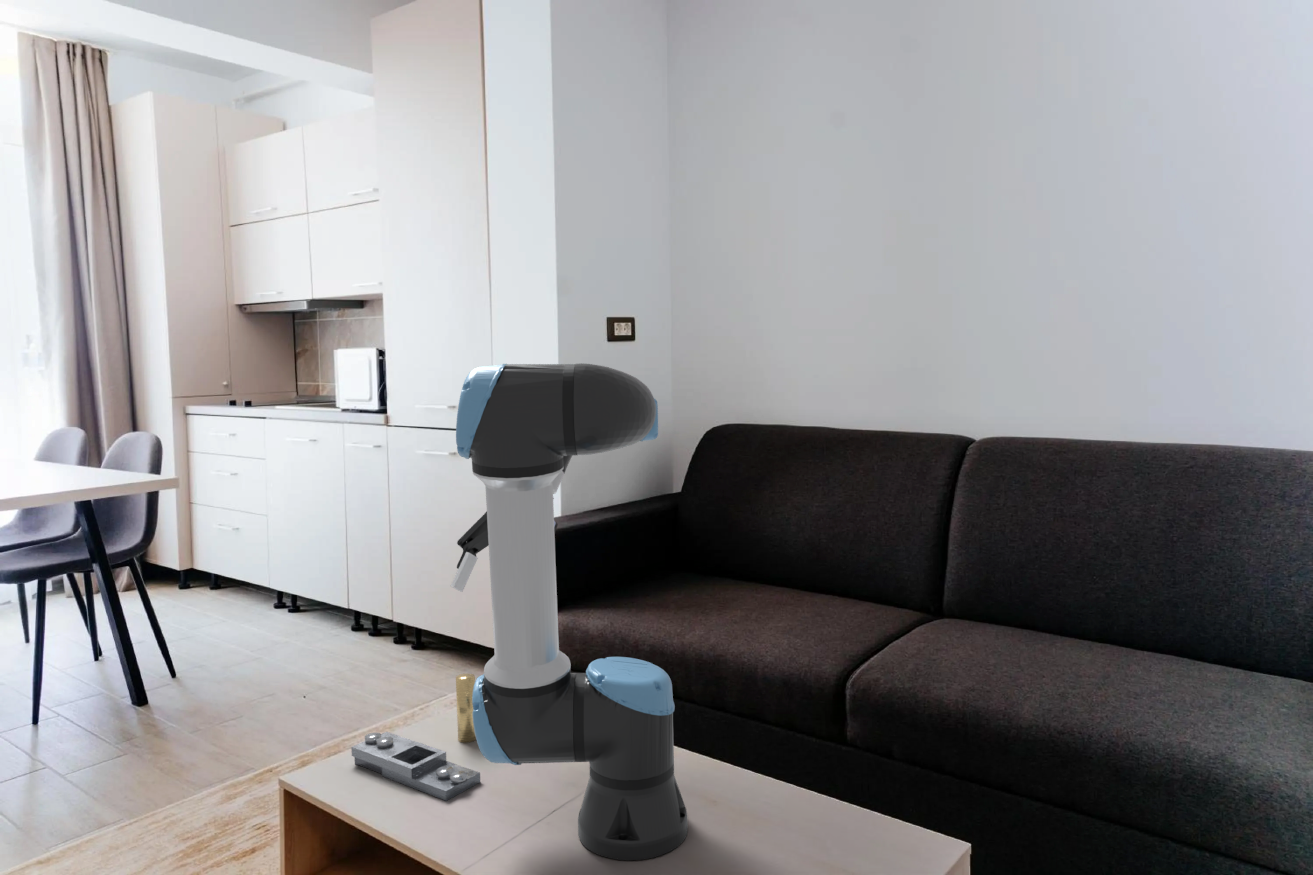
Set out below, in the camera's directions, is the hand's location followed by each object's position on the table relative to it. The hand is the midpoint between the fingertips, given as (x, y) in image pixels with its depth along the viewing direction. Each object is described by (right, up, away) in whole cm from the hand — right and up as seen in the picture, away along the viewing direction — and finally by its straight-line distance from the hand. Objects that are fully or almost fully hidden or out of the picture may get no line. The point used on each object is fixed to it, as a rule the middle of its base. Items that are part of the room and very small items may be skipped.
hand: (485, 599), depth 150 cm
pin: (-4, -24, +2) cm, 25 cm away
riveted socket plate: (-9, -26, -11) cm, 29 cm away
